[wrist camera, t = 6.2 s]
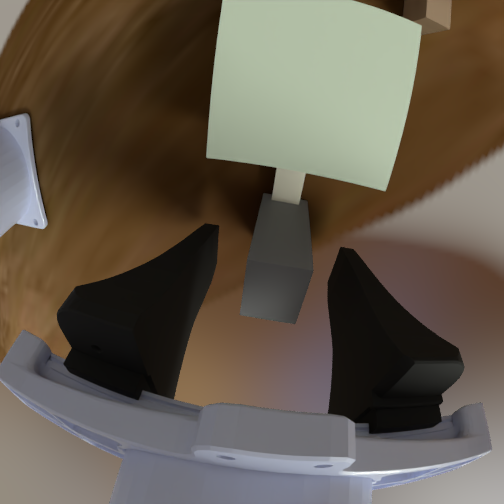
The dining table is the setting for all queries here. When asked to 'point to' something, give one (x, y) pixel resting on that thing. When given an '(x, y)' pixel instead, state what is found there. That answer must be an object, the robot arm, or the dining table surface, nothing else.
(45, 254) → the dining table surface
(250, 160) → the sage block
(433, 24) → the frame
